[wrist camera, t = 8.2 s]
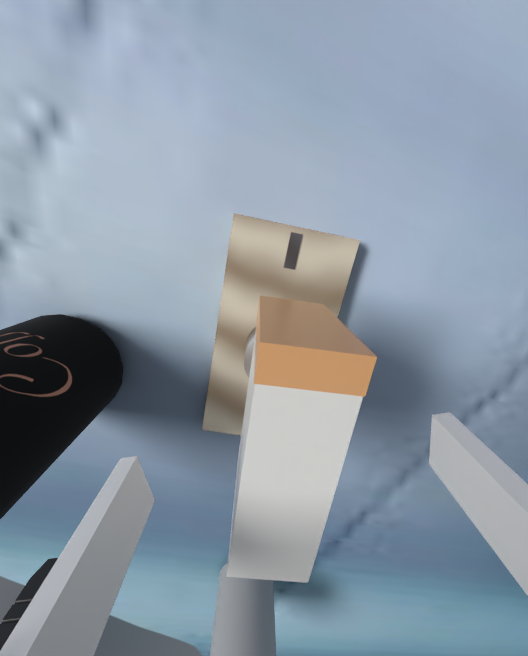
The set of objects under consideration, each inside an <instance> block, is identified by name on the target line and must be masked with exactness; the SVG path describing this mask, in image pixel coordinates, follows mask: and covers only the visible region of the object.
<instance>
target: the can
mask: <svg viewBox="0 0 528 656" xmlns="http://www.w3.org/2000/svg"><path fill="white" fill-rule="evenodd" d="M227 566H228V563H227V564H225V565H224V566H223V568H222V569H221V571H220V577H219V585H218V593H217V602H216V610H215V618H214V627H213V635H212V644H211V652H210V656H276V640H275V615H274V590H273V580H264V579H250V578H237V577H226V576H227Z"/></svg>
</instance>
